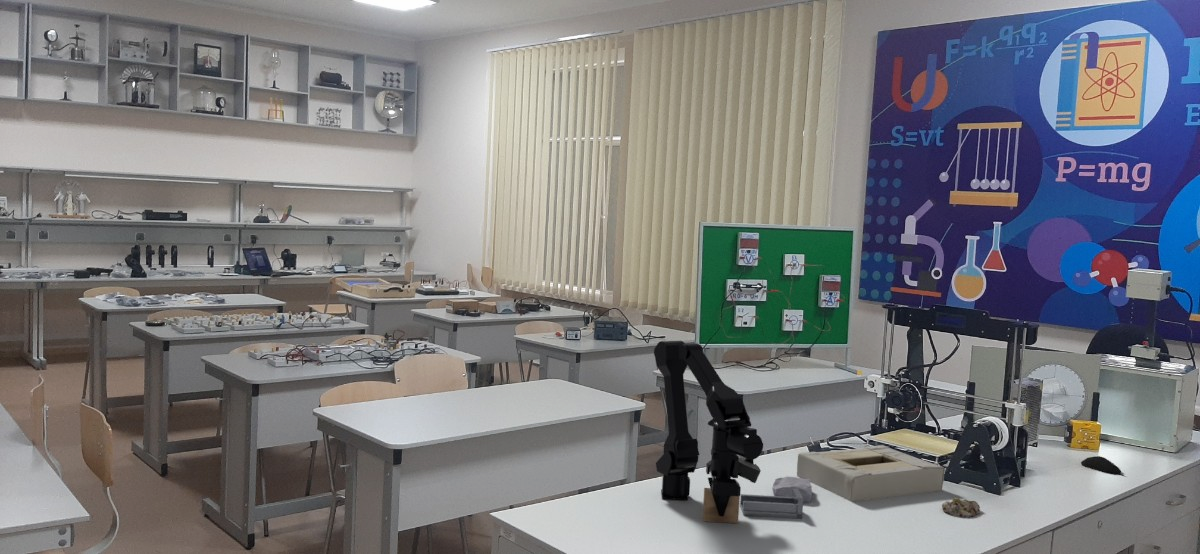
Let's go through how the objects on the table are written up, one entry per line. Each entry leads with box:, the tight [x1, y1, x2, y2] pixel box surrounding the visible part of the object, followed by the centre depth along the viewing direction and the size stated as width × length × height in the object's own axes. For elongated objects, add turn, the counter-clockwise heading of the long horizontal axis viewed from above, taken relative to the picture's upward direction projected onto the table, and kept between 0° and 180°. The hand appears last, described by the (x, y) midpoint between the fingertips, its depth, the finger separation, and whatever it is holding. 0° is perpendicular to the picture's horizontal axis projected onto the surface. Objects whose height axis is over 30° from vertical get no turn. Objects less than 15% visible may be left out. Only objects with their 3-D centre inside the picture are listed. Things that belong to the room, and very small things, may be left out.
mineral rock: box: [941, 497, 981, 519], centre depth 220 cm, size 11×4×8 cm
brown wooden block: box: [702, 487, 741, 524], centre depth 205 cm, size 8×3×7 cm, turn 88°
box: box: [796, 444, 945, 503], centre depth 240 cm, size 23×8×32 cm
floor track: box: [739, 489, 804, 519], centre depth 213 cm, size 14×7×5 cm, turn 88°
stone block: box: [771, 476, 813, 504], centre depth 227 cm, size 12×5×10 cm
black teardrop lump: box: [1080, 455, 1127, 478], centre depth 265 cm, size 6×15×4 cm, turn 23°
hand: (720, 513), depth 205 cm, fingers closed on brown wooden block, 3 cm apart
